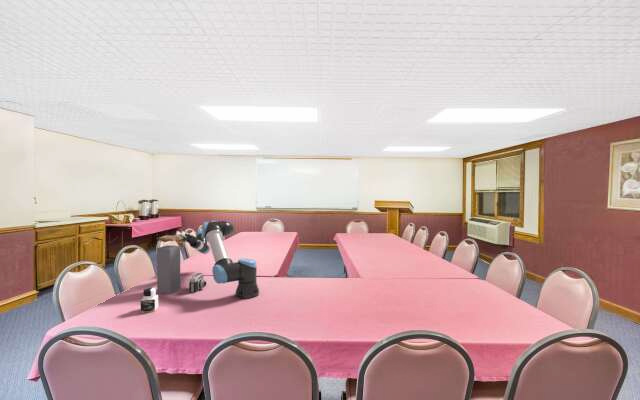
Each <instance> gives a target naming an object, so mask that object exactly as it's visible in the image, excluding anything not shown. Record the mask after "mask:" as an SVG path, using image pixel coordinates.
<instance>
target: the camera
mask: <svg viewBox="0 0 640 400" xmlns="http://www.w3.org/2000/svg"><path fill="white" fill-rule="evenodd" d="M188 281H189V283H188V284H189V286H188V287H189V288H188V291H189V293H190V294H195V293H197V292H198V291H200V290H201V289H203V288H205V287H206V286H207V281H206V280H205V279H204V273H203V272H198V273H196V274H194V275H192V276H191V277H190V278H189V280H188Z"/></svg>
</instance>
